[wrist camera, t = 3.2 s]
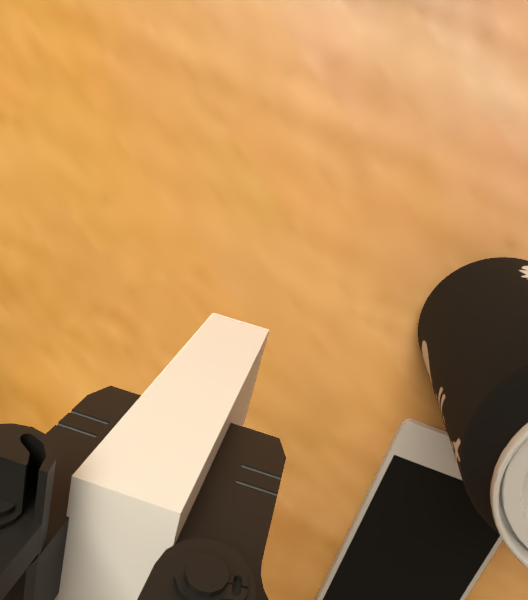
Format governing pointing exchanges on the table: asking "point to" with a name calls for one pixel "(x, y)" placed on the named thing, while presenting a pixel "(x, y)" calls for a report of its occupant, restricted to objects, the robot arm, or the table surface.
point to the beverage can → (484, 386)
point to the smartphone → (413, 528)
